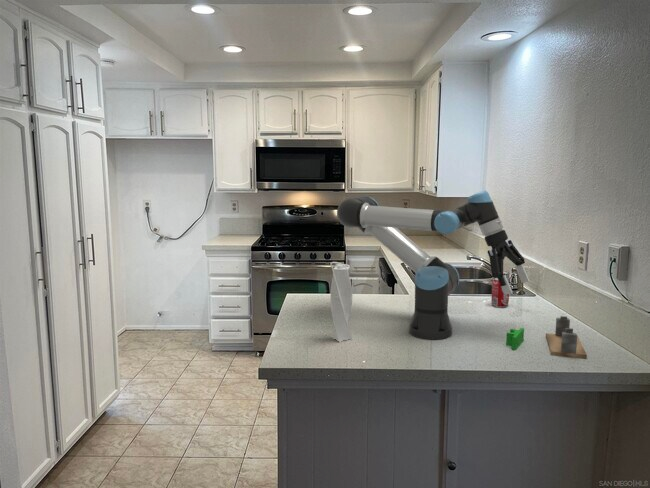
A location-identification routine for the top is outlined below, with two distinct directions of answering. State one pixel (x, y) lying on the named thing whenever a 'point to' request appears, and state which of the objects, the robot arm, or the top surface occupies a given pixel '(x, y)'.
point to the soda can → (499, 295)
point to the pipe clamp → (515, 338)
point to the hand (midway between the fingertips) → (517, 287)
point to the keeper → (565, 340)
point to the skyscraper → (341, 301)
